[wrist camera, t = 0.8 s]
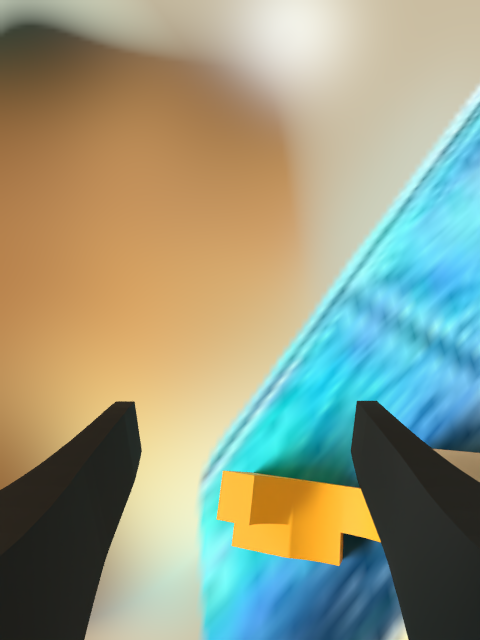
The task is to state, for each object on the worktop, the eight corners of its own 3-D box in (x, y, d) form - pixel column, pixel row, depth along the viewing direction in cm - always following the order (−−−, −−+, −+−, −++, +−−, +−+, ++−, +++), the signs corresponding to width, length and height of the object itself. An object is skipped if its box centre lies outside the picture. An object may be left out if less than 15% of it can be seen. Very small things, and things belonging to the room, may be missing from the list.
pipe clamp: (247, 539, 27) (212, 554, 21) (254, 472, 29) (223, 470, 23) (439, 578, 23) (458, 610, 17) (435, 498, 24) (452, 503, 19)
